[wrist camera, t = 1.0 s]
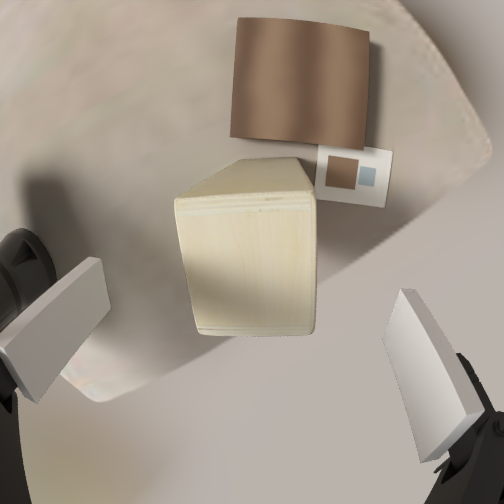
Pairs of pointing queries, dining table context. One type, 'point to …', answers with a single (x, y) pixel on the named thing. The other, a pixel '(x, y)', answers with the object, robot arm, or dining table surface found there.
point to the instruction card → (353, 175)
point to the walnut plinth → (300, 82)
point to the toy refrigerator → (251, 249)
